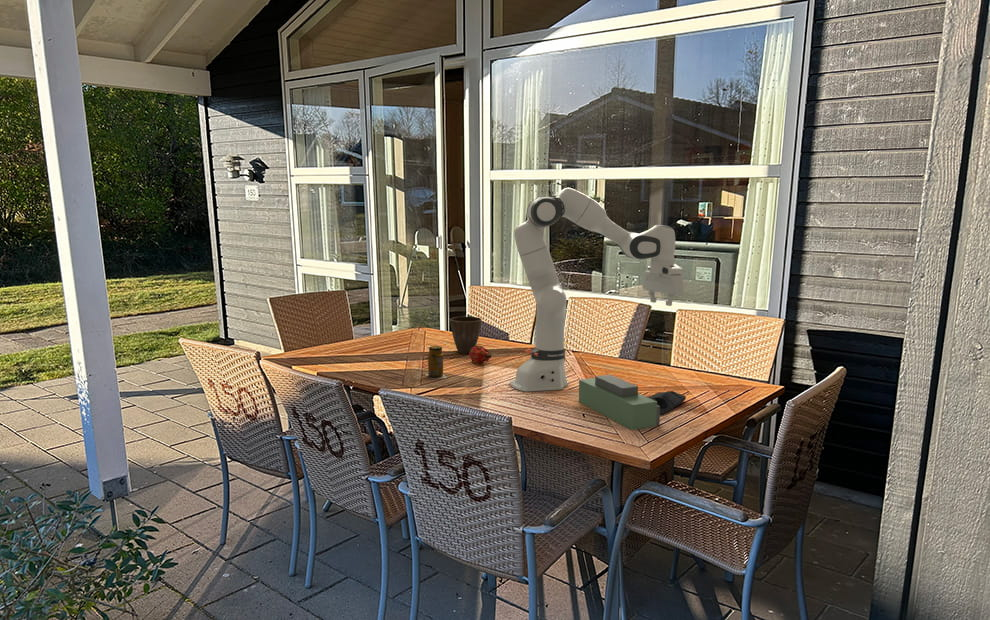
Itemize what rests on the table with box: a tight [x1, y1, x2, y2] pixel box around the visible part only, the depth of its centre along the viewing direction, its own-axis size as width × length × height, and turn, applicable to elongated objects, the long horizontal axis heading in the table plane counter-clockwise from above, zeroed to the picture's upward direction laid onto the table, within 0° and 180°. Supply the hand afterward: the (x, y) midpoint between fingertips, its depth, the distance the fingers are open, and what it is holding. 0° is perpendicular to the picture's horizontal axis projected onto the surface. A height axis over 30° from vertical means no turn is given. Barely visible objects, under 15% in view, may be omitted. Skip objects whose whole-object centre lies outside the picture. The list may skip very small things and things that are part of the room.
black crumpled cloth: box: [646, 390, 687, 416], centre depth 222 cm, size 15×22×5 cm
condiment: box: [424, 345, 448, 380], centre depth 259 cm, size 7×8×12 cm
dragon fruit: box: [467, 344, 492, 365], centre depth 282 cm, size 8×8×12 cm
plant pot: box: [449, 316, 483, 355], centre depth 303 cm, size 15×15×16 cm
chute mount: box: [578, 374, 661, 431], centre depth 212 cm, size 11×32×11 cm, turn 23°
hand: (660, 303), depth 246 cm, fingers open, 8 cm apart
